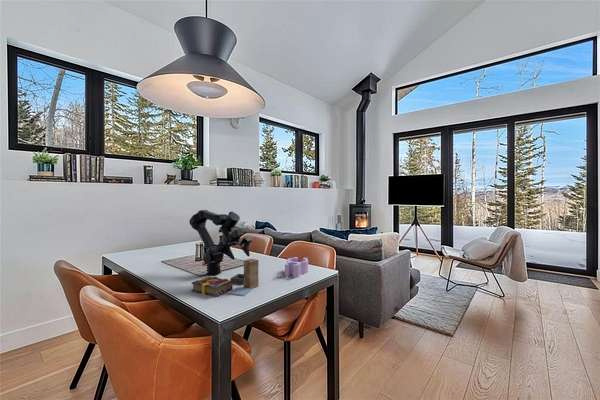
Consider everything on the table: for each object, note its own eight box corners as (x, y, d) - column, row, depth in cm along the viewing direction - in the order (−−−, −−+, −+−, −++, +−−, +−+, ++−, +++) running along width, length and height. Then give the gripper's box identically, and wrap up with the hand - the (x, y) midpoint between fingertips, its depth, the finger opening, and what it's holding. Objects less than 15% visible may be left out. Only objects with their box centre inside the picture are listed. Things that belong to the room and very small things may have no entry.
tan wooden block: (243, 287, 131) (243, 260, 131) (251, 284, 135) (251, 258, 135) (250, 289, 128) (250, 261, 128) (258, 286, 132) (258, 260, 131)
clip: (301, 279, 145) (301, 266, 145) (279, 276, 149) (279, 264, 148) (311, 269, 164) (311, 258, 164) (291, 267, 168) (291, 256, 167)
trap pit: (230, 282, 137) (230, 278, 137) (238, 278, 145) (238, 273, 145) (244, 284, 135) (244, 279, 135) (252, 279, 143) (252, 274, 143)
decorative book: (209, 284, 135) (209, 274, 135) (235, 290, 128) (235, 279, 127) (191, 292, 125) (191, 281, 125) (217, 298, 117) (217, 286, 117)
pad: (228, 294, 122) (228, 292, 122) (237, 288, 129) (237, 287, 129) (244, 295, 120) (244, 294, 119) (252, 289, 127) (252, 288, 127)
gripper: (219, 224, 132) (232, 250, 125) (249, 222, 146) (263, 245, 139) (210, 239, 138) (223, 264, 130) (240, 235, 152) (253, 258, 145)
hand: (241, 257), depth 136 cm, fingers open, 9 cm apart
